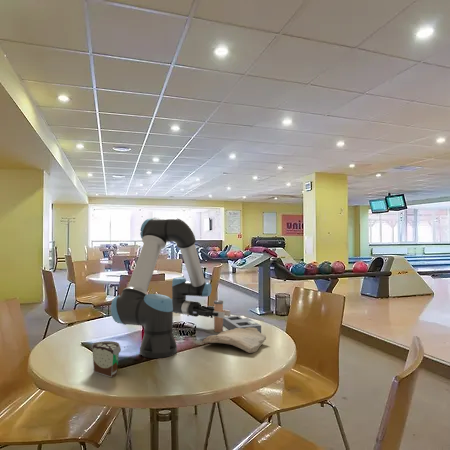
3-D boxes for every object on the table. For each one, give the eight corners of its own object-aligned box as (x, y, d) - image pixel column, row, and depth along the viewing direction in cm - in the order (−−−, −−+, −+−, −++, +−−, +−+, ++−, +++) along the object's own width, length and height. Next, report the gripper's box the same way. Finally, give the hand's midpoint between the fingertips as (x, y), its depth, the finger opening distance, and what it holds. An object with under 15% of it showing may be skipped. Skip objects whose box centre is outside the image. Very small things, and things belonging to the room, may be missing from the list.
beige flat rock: (222, 337, 175) (199, 345, 157) (223, 322, 175) (201, 327, 158) (269, 347, 163) (250, 356, 146) (270, 330, 164) (252, 337, 146)
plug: (224, 331, 182) (224, 301, 182) (215, 332, 180) (215, 302, 180) (221, 329, 186) (221, 300, 186) (212, 330, 184) (212, 300, 185)
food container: (128, 372, 129) (128, 344, 129) (114, 378, 124) (114, 348, 124) (105, 365, 136) (105, 338, 136) (91, 371, 130) (91, 343, 131)
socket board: (261, 333, 178) (261, 324, 178) (238, 336, 174) (238, 327, 174) (242, 322, 200) (242, 314, 201) (221, 324, 196) (221, 316, 196)
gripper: (202, 312, 201) (237, 318, 187) (180, 318, 187) (216, 325, 173) (202, 299, 201) (237, 304, 187) (180, 304, 187) (216, 309, 173)
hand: (227, 314), depth 180 cm, fingers closed on plug, 4 cm apart
